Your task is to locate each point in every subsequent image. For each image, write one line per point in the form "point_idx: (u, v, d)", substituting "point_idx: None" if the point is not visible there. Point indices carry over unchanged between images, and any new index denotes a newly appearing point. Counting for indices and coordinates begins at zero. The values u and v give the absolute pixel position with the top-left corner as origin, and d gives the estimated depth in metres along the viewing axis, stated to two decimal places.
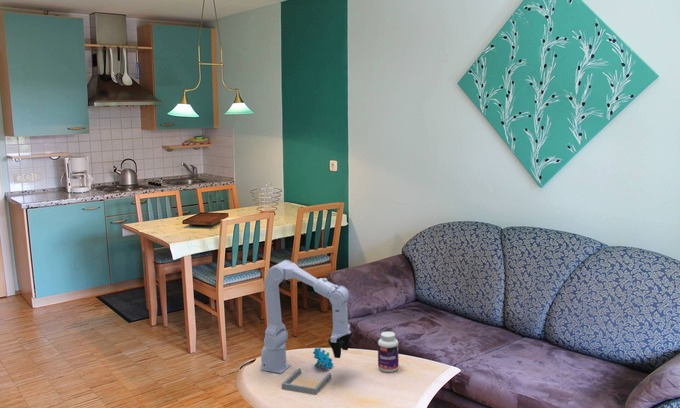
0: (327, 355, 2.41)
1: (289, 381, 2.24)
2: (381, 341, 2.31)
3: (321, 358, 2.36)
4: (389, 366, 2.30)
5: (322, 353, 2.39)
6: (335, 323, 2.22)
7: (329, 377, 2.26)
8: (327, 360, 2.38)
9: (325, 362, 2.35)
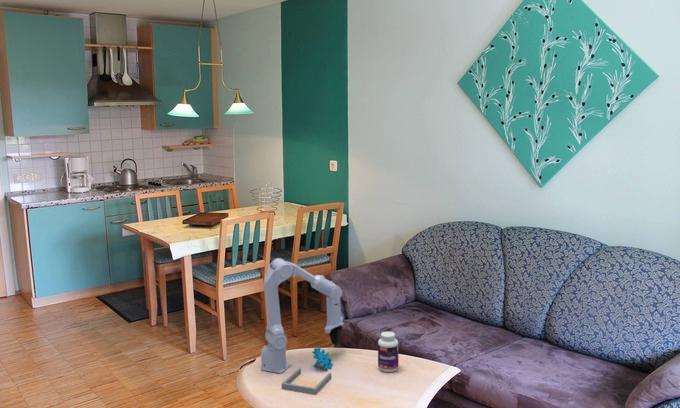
0: (327, 355, 2.41)
1: (289, 381, 2.24)
2: (381, 341, 2.31)
3: (320, 358, 2.36)
4: (389, 366, 2.30)
5: (322, 353, 2.39)
6: (329, 316, 2.44)
7: (329, 377, 2.26)
8: (327, 360, 2.38)
9: (324, 362, 2.36)
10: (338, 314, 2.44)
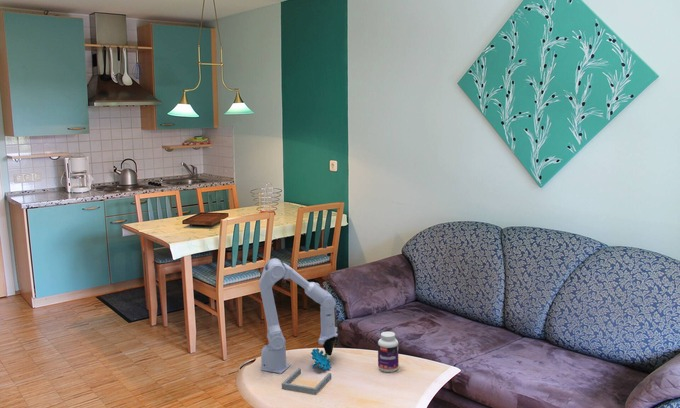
0: (325, 356, 2.39)
1: (289, 381, 2.24)
2: (381, 341, 2.31)
3: (319, 359, 2.34)
4: (389, 366, 2.30)
5: (320, 354, 2.38)
6: (323, 326, 2.38)
7: (329, 377, 2.26)
8: (325, 361, 2.37)
9: (323, 363, 2.34)
10: (332, 325, 2.38)
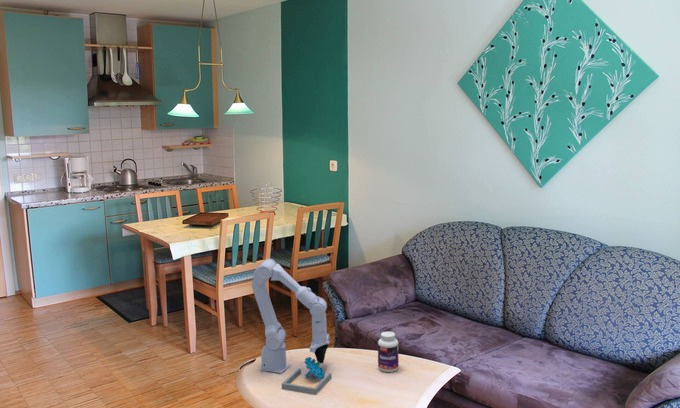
0: (318, 364, 2.32)
1: (289, 381, 2.24)
2: (381, 341, 2.31)
3: (313, 368, 2.27)
4: (389, 366, 2.30)
5: (313, 362, 2.30)
6: (314, 333, 2.31)
7: (329, 377, 2.26)
8: (319, 369, 2.29)
9: (317, 372, 2.27)
10: (324, 332, 2.31)
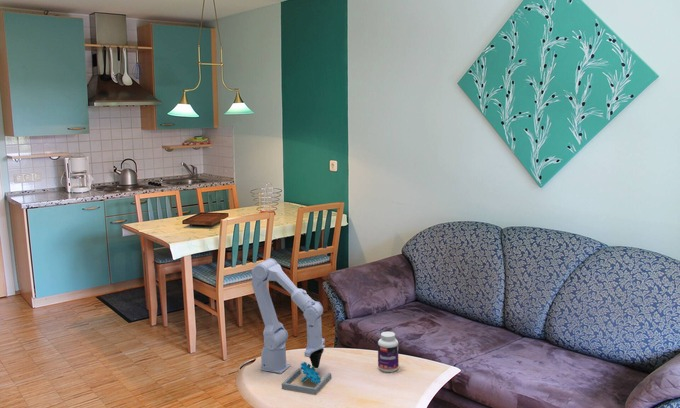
0: (313, 369, 2.28)
1: (289, 381, 2.24)
2: (381, 341, 2.31)
3: (309, 373, 2.22)
4: (389, 366, 2.30)
5: (309, 367, 2.26)
6: (309, 338, 2.27)
7: (329, 377, 2.26)
8: (315, 374, 2.25)
9: (314, 377, 2.23)
10: (319, 336, 2.27)
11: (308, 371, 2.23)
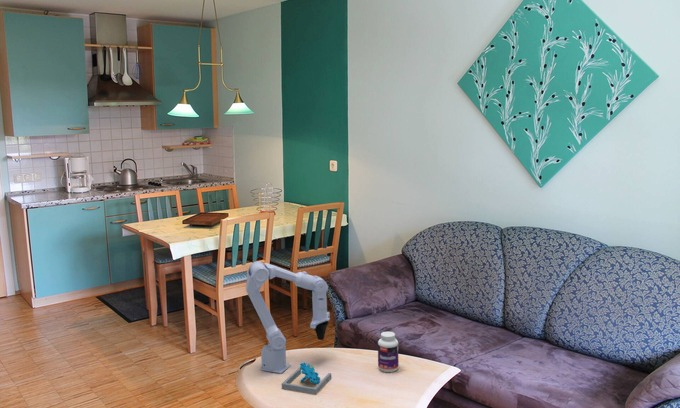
0: (313, 369, 2.28)
1: (289, 381, 2.24)
2: (381, 341, 2.31)
3: (308, 373, 2.23)
4: (389, 366, 2.30)
5: (308, 368, 2.26)
6: (315, 310, 2.38)
7: (329, 377, 2.26)
8: (314, 375, 2.25)
9: (313, 377, 2.23)
10: (324, 309, 2.38)
11: (307, 371, 2.23)
